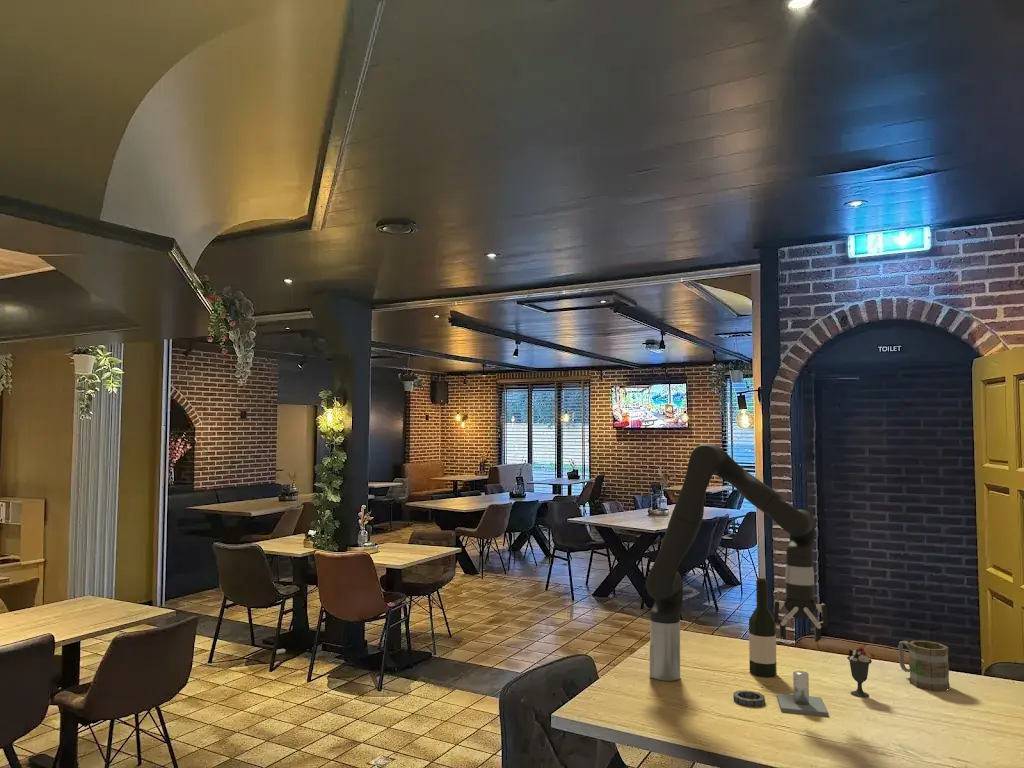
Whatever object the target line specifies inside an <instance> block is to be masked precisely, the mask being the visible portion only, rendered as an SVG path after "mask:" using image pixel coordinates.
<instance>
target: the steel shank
mask: <svg viewBox="0 0 1024 768" xmlns="http://www.w3.org/2000/svg"><path fill="white" fill-rule="evenodd" d="M809 678H810V677H809V672H807V671H803V670H794V671H793V673H792V681H793V682H792V683H793V684H792V686H793V687H792V688H793V695H794V703H796V704H799V705H808V704H809V696H810V686H809V685H810V684H809V683H810V682H809V681H810V680H809Z"/></svg>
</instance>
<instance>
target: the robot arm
mask: <svg viewBox="0 0 1024 768" xmlns="http://www.w3.org/2000/svg"><path fill="white" fill-rule="evenodd" d="M685 472H686V473H685V476H684V481H683V484H682V486H681V489H680V492H679V494H678V497H677V500H676V502H675V505H674V508H673V510H672V512H671V515H670V519H669V522H668V524H667V527H666V530H665V534H664V536H663V538H662V542H661V546H660V547H659V548H660V549H659V550H658V553H657V557H656V558H655V561H654V562H653V565H652V567H651V568H650V569H649V573H648V574H647V575H648V576H647V577H646V581H645V586H646V590H647V593H648V595H649V596H650V598H652V599H654V603H653V606H652V607H651V609H650V611H649V614H650V615H649V637H650V638H649V641H650V642H649V678H651V679H655V680H657V681H658V680H659V681H664V682H665V681H667V682H672V681H677V680H680V679H681V615H682V614H681V613H682V611H683V595H684V587H683V585H684V584H683V579H682V576H681V574H680V572H679V571H678V569H679V566H680V564H681V561H682V560H683V558H684V557H685V555H686V554H687V552H688V551H689V550H690V549H691V547H692V545H693V544H694V541H695V540H696V538H697V536H698V534H699V530H700V528H701V526H702V522H703V519H704V512H705V497H706V493H707V492H706V491H707V489H708V486H709V485H710V483H711V482H710V481H711V480H712V477H713V475H715V476H717V477H718V478H720V479H723V480H724V481H726V482H727V483H729V484H730V485H731V486H733V488H735V489H736V490H737V491H738V492H739V494H740V495H742V497H743V498H745V499H746V501H748V502H749V503H751V505H753V506H754V507H755V508H757V509H758V510H760V511H761V512H762V513H764V514H765V515H767V516H768V517H770V518H771V519H772V520H773V521H774V522H775V524H776V525H778V526H779V527H780V528H781V529H782V530H784V531H785V532H786V533H788V534H789V542H788V544H787V547H786V549H785V550H786V551H785V552H786V553H785V555H786V556H785V557H786V560H785V562H786V564H785V576H784V578H785V599H784V601H782V600H781V601H779V600H778V599H774V601H773V610H772V611H773V612H772V615H773V620H774V622H775V623H776V624H778V625H779V635H780V637H781V638H782V639H783V640H786V637H787V635H786V634H787V630H786V629H787V626H786V624H787V623H788V622H789V621H790V620H791V619H792V618H794V619H802V620H807V619H810V621H811V622H812V623H813V624H814V627H813V628H814V631H813V632H814V641H815V643H819V641H821V639H822V629H823V628H827V627H828V626H829V620H828V619H829V618H828V606H827V605H826V604H825V603H824V602H822V603H821V604H820V603H816V602H815V573H814V571H815V570H814V556H813V555H814V554H813V548H814V541H815V540H814V539H815V534H816V533H815V532H816V524H815V518H814V516H813V515H812V513H811V512H809V511H808V510H805V509H797V508H795V507H794V506H792V504H790V503H788V502H787V501H786V498H784V496H782V494H780V493H779V492H777V491H775V490H774V489H773V488H771V486H769V485H767V484H766V483H764V482H763V481H761V480H760V479H759V478H757V477H755V476H754V475H752V474H751V473H749V472H748V471H747V470H746V469H744V468H743V467H742V466H741V465H740V464H739V463H738V462H736V461H735V460H734V459H733V458H732V457H731V456H730V455H729V454H728V453H727V452H726V451H725V450H724V449H723V448H721V447H720V446H719V445H716V444H712V443H711V444H708V443H705V444H704V443H703V444H700V445H697V446H696V447H694V449H693V450H692V452H691V453H690V456H689V460H688V464H687V468H686V471H685ZM783 607H784V608H785V609H786V611H785V613H784V614H783V616H782V617H781V618H779V615H780V613H779V612H780V610H781V609H782V608H783ZM817 609H818V612H819V613H821V615H820V616H821V621H818V620H817V618H816V617H815V615H813V614H814V612H815V611H816V610H817Z"/></svg>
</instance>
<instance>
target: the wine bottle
mask: <svg viewBox="0 0 1024 768" xmlns="http://www.w3.org/2000/svg"><path fill="white" fill-rule="evenodd" d="M755 581H756V584H755V585H756V586H755V589H756V607H755V609H754V610H753V612H752V613H751V616H750V617H749V619H748V639H749V640H748V642H749V643H748V644H749V646H748V649H749V651H748V652H749V654H748V655H749V659H748V660H749V674H750V673H751V675H752V674H753V676H754V675H755V676H754V677H759V678H766V679H769V678H776V676H777V670H778V669H777V625H776V624H777V623H775V622H774V620H773V613H772V612H771V610H770V608H769V606H768V605H769V604H768V580H766V577H764V576H763V577H762V576H758V577H757V579H756V580H755Z"/></svg>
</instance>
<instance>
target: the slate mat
mask: <svg viewBox="0 0 1024 768" xmlns="http://www.w3.org/2000/svg"><path fill="white" fill-rule="evenodd" d="M776 698H777V702H778V703H777V704H778V706H779V709H780V711H781V713H791V714H803V715H810V716H811V715H812V716H820V717H829V710H828V708H827V706H826V704H825V702H824V701H823V698H822V697H821V696H810V695H809V704H808V705H799V704H796V703H794V694H792V693H791V694H790V693H780V692H779V693H778V692H776Z"/></svg>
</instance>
